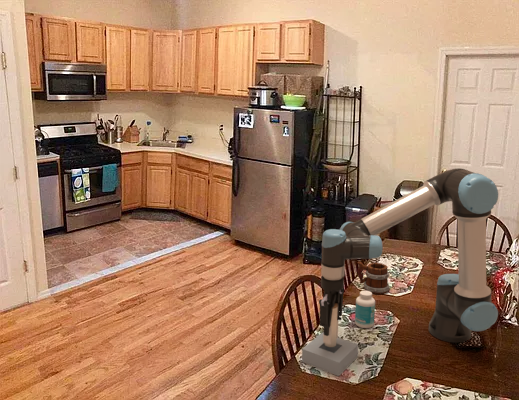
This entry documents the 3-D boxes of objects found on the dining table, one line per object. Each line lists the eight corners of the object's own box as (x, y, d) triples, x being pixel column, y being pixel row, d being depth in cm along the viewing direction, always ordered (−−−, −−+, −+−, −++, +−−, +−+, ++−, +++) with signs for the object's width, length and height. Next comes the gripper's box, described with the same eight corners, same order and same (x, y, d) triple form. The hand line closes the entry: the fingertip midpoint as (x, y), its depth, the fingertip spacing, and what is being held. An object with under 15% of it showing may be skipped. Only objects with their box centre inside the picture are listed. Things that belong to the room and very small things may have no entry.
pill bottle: (374, 329, 183) (376, 297, 180) (354, 328, 185) (356, 296, 182) (373, 320, 190) (375, 289, 187) (354, 319, 192) (356, 288, 189)
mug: (390, 296, 212) (386, 264, 209) (358, 297, 216) (354, 266, 214) (392, 286, 222) (388, 256, 220) (361, 287, 227) (357, 257, 225)
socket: (357, 357, 165) (358, 344, 164) (338, 376, 154) (339, 362, 153) (322, 344, 173) (322, 332, 172) (302, 361, 162) (302, 348, 161)
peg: (338, 343, 163) (339, 303, 159) (332, 348, 160) (334, 307, 156) (327, 339, 165) (329, 300, 161) (322, 344, 162) (323, 304, 158)
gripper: (334, 265, 165) (332, 326, 171) (309, 281, 152) (308, 347, 157) (354, 270, 161) (351, 333, 166) (330, 287, 148) (328, 354, 153)
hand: (330, 339), depth 162 cm, fingers closed on peg, 4 cm apart
